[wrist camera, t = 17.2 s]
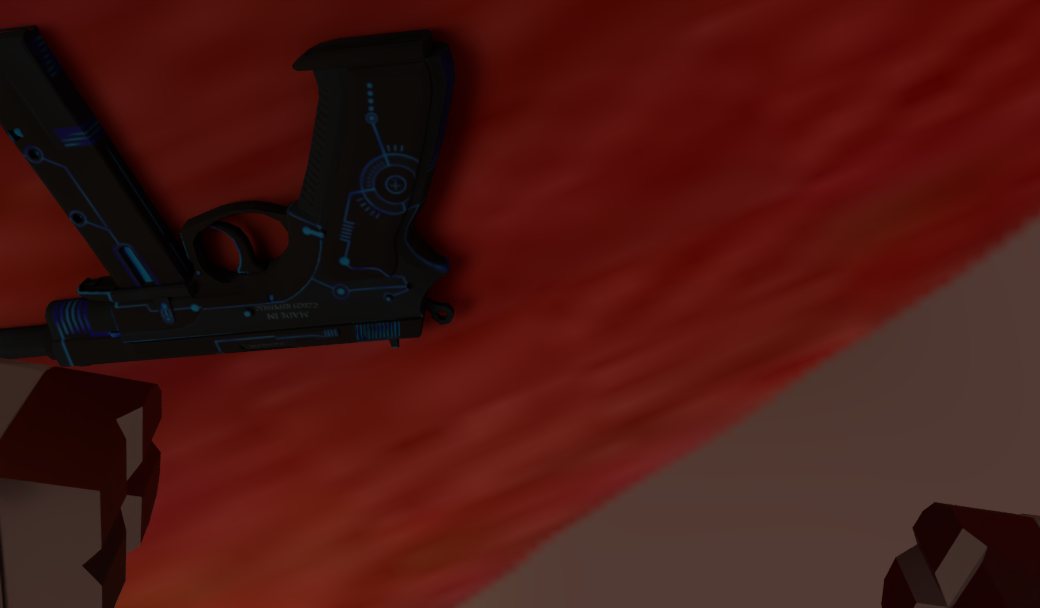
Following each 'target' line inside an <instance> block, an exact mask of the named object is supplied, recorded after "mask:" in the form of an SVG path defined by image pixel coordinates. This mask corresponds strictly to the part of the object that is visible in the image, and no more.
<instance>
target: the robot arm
mask: <svg viewBox="0 0 1040 608" xmlns="http://www.w3.org/2000/svg"><path fill="white" fill-rule="evenodd" d="M161 418H162V391H161V389H160V387H159V386H158V384H154V383H149V382H143V381H137V380H131V379H126V378H120V377H114V376H108V375H103V374H97V373H91V372H85V371H80V370H74V369H68V368H62V367H56V366H54V367H50V366H47V365H41V364H35V363H29V362H23V361H17V360H11V359H5V358H0V608H114V607H115V604H116V602H117V600H118V597H119V595H120V593H121V590H122V588H123V586H124V583H125V581H126V554H127V553H129V552H130V551H132V550H134V549H135V548H137V547H138V546H140V545H141V542H142V540H143V537H144V535H145V532H146V530H147V527H148V525H149V522H150V518H151V514H152V511H153V507H154V503H155V499H156V496H157V490H158V483H159V475H160V460H161V452H160V451H159V449H158V448H157V447H156V446H155V444H154V443H153V442H152V438H153V436H154V434H155V432H156V430H157V427H158V425H159V423H160V421H161ZM913 531H914V535H915V538H916V542H917V545H915V546H914V547H912V548H910V549H909V550H907V551H906V552H904V553H902V554H900V555H899V556H897V557H896V558H895V560H894V562H893V563H892V565H891V567H890V569H889V571H888V573H887V575H886V577H885V579H884V586H883V595H882V603H881V605H882V608H1040V516H1037V515H1029V514H1019V515H1018V514H1013V513H1006V512H999V511H992V510H985V509H977V508H971V507H965V506H958V505H951V504H944V503H937V502H934V503H933V504H932V505H930V506H929V507H928V508H926V509H925V510H924V511H923V512H922V513H921V515H920V517H919V518H918V520H917V521H916V523H915V525H914V526H913Z"/></svg>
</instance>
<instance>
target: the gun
mask: <svg viewBox="0 0 1040 608" xmlns="http://www.w3.org/2000/svg"><path fill="white" fill-rule="evenodd" d="M27 28H33V29H34V30H33V31H29V30H26V29H27ZM18 29H23V30H20V31H13V32H4V33H0V124H1V126H2V127H3V129H4V130H5V132H6V133H7V134H8V136H9V137H10V138H11V139H12V141H13V142H14V143H15V145H16V146H17V148H18V149H19V150H20V152H21V153H22V154H23V156H24V157H25V158H26V160H27V161H28V163H29V164H30V165H31V167H32V168H33V169H34V171H35V172H36V173H37V175H38V176H39V178H40V179H41V180H42V182H43V183H44V184H45V186H46V187H47V188H48V190H49V191H50V193H51V194H52V195H53V197H54V198H55V199H56V201H57V202H58V203H59V205H60V206H61V208H62V209H63V210H64V212H65V213H66V214H67V216H68V217H69V218H70V220H71V221H72V223H73V224H74V225H75V227H76V228H77V229H78V231H79V232H80V233H81V235H82V236H83V237H84V239H85V240H86V242H87V243H88V244H89V246H90V247H91V248H92V250H93V251H94V253H95V254H96V256H97V257H98V258H99V260H100V261H101V263H102V264H103V265H104V267H105V268H106V270H107V271H108V273H109V274H110V275H111V276H108V277H101V278H99V279H93V280H90V278H87V279H85V280H84V281H83V282H82V283H81V284H80V285H79V287H78V289H77V293H78V294H79V295H81V296H82V297H83V298H79V299H68V300H57V301H52V302H51V303H50V304H49V305H48V307H47V308H46V315H45V318H46V321H47V324H46V325H44V326H33V327H21V328H9V329H0V358H5V359H15V358H27V357H39V356H48V357H50V358H51V359H52V360H57V361H58V363H59V365H60V366H62V367H67V366H90V365H92V364H103V363H115V362H127V361H140V360H152V359H164V358H176V357H188V356H200V355H212V354H224V353H236V352H247V351H259V350H272V349H284V348H296V347H308V346H320V345H332V344H344V343H356V342H368V341H380V340H389V341H390V344H391V346H392V348H399V339H404V338H415V337H420V335H421V332H422V326H423V321H424V316H425V311H426V310H427V311H428V312H430V313H431V315H432V318H433V319H434V320H435V321H437V322H438V323H440V324H441V325H443V324H448V323H450V322H451V320H452V319H453V317H454V309H453V307H452V306H451V305H450V304H449V303H442V302H437V301H434V300H432V299H430V298H428V297H427V291H428V289H429V288H430V287H431V286H432V285H433V284H434V283H435V282H436V281H437V280H438V279H439V278H441V277H442V276H444V275H445V274H447V273H448V272H449V268H450V266H449V259H447V258H446V257H444V256H442V255H440V254H438V253H437V252H435V251H434V250H433V249H432V248H431V247H430V246H429V245H428V244H427V243H426V242H424V241H423V240H422V239H421V237H420V236H419V235H418V233H417V232H416V230H415V227H414V225H415V218H416V217H417V215H418V213H419V212H420V210H421V208H422V206H423V205H424V203H425V201H426V198H427V194H428V190H429V187H430V183H431V180H432V176H433V173H434V169H435V166H436V162H437V158H438V155H439V151H440V148H441V144H442V141H443V137H444V134H445V130H446V125H447V119H448V114H449V109H450V103H451V98H452V92H453V87H454V81H455V73H454V62H453V59H452V55H451V52H450V48H449V45H448V44H446V43H443V42H432V35H431V32H430V31H429V30H417V31H407V32H398V33H388V34H379V35H369V36H360V37H350V38H341V39H336V40H331V41H327V42H323V43H320V44H318V45H316V46H314V47H312V48H310V49H308V50H307V51H306V52H305V53H304V54H302V55H301V56H300V57H299V58H298V59H297V60H296V61H295V63H294V64H293V65H292V66H293V69H295V70H297V71H304V70H313V72H314V74H315V78H316V81H317V84H318V89H319V101H318V107H317V113H316V119H315V125H314V131H313V137H312V143H311V148H310V154H309V160H308V166H307V170H306V174H305V178H304V181H303V185H302V189H301V193H300V197H299V200H297V201H294V202H292V203H291V204H290V205H289V206H282V205H278V204H274V203H269V202H262V201H247V202H235V203H231V204H226V205H222V206H220V207H218V208H215V209H213V210H210V211H208V212H206V213H203V214H201V215H199V216H196V217H194V218H191V219H189V220H187V222H186V223H185V225H184V226H183V228H182V229H181V231H180V234H181V237H182V240H183V242H182V243H184V244H183V245H184V246H185V247H184V248H186V249H185V251H187V252H186V253H187V256H188V258H187V256H186V255H185V253H184V252H183V250H182V248H181V247H180V245H179V244H178V242H177V241H176V239H175V237H174V236H173V234H172V233H171V231H170V230H169V228H168V227H167V225H166V224H165V222H164V221H163V219H162V218H161V216H160V214H159V213H158V211H157V210H156V208H155V207H154V205H153V204H152V202H151V201H150V199H149V198H148V196H147V195H146V193H145V192H144V190H143V189H142V187H141V186H140V184H139V183H138V181H137V180H136V178H135V177H134V175H133V174H132V172H131V171H130V169H129V168H128V166H127V165H126V163H125V161H124V160H123V158H122V157H121V155H120V154H119V152H118V151H117V149H116V148H115V146H114V145H113V143H112V142H111V140H110V139H109V137H108V136H107V134H106V132H105V131H104V129H103V128H102V127H101V125H100V124H99V122H98V121H97V119H96V118H95V116H94V115H93V113H92V112H91V110H90V109H89V107H88V106H87V104H86V103H85V101H84V100H83V99H82V97H81V96H80V94H79V93H78V91H77V90H76V88H75V87H74V85H73V84H72V82H71V81H70V79H69V78H68V76H67V75H66V73H65V72H64V70H63V69H62V67H61V66H60V64H59V63H58V61H57V60H56V58H55V57H54V55H53V54H52V52H51V51H50V49H49V48H48V46H47V45H46V43H45V42H44V40H43V39H42V37H41V36H40V34H39V31H38V29H37V27H36V26H25V27H16V28H7V29H0V31H9V30H18ZM239 213H260V214H264V215H267V216H269V217H272V218H274V219H277V220H279V221H280V222H281V223H282V225H283V226H284V227H285V228H286V230H287V231H288V236H289V244H288V247H287V249H286V250H285V251H284V252H283V254H282V255H281V256H280V257H278V258H276V259H274V260H270V261H266V262H261V261H259V260H258V258H257V257H256V255H255V253H254V250H253V247H252V245H251V243H250V241H249V239H248V237H247V236H246V235H245V233H244V232H243V231H242V230H241V229H240V228H239V227H237V226H235V225H232V224H230V223H228V222H222V221H216V220H219V219H221V218H224V217H226V216H229V215H231V214H239ZM210 224H211V225H210ZM209 225H210V228H214V229H218V230H221V231H222V232H224V233H226V234H227V235H228V236H230V238H231V239H232V240H233V241H234V242H235V245H236V247H237V249H238V252H239V254H240V264H239V266H238V269H237V271H238V272H233V273H228V272H225V271H223V270H220V269H219V268H217V267H216V266H215V265H214V264H212V263H211V262H210V261H209V260H208V258H207V255H206V253H205V249H204V245H203V242H202V238H201V234H200V231H201V230H203V229H204V228H206V227H207V226H209ZM189 260H190V261H192V263H193V265H194V267H193V266H192V264H191V263H190V261H189ZM440 311H445V312H447V315H446V316H441V315H439V313H438V312H440Z"/></svg>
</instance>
